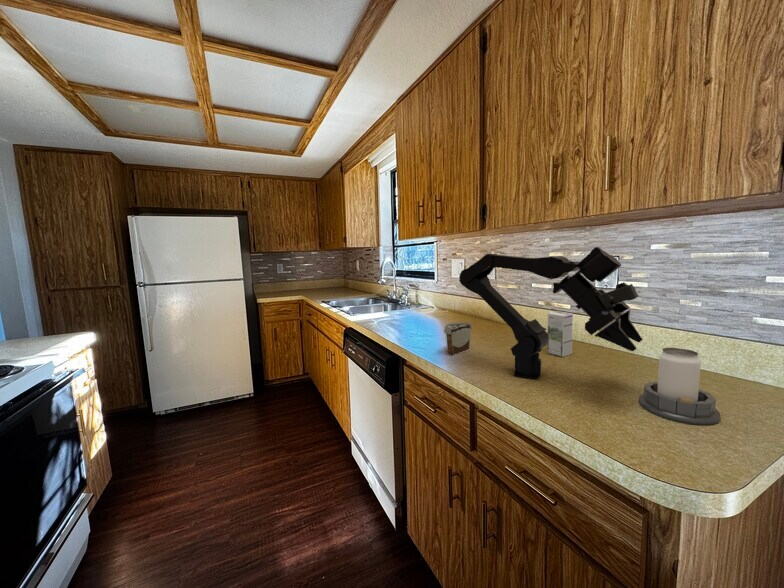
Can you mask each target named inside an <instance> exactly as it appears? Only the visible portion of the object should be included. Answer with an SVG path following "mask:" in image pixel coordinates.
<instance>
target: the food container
mask: <svg viewBox="0 0 784 588" xmlns="http://www.w3.org/2000/svg"><path fill="white" fill-rule="evenodd" d="M472 328H473V326H472V323H471V322H451V323H447V324H446V325H445V327H444V329H443V333H444V334H445V336H446V346H447V353H448V354H449V355H450V354H451V355H450V356H453V355H454V356H456V355H455V354H457V355H459V354H458V353H460V352H462V353H464V352H463V351H465V352H467V351H466V350H468V349H469V350H471V349H470V346H471V345H470V344H471V330H472ZM469 350H468V351H469ZM460 354H461V353H460Z"/></svg>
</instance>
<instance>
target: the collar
mask: <svg viewBox="0 0 784 588" xmlns="http://www.w3.org/2000/svg"><path fill="white" fill-rule="evenodd" d="M657 389H658V381H649V382H648V383H645V384H644V386H643V393H641V394H640V395H639V396H638V404H639V406H640V407H641V408H642V409H644V410H645V411H647V412H649V413H651V414H653V415H655V416H657V417H659V418H662V419H666V420H668V421H669V420H670V421H673V422H677V423H680V424H685V425H693V426H715V425H717V424H719V423H720V422H721V412H720V411H719V410H717V409H716V401H717V399H716V398H715V397H714V396H713V395H712V394H711V393H709V392H706V391H704V390H702V389H700V388H699V391H698V401H697V402H693V400H692V399H691V398H685V397H679V400H677V399H674V398H670V397H667V396H663V395H661V394H659V393H657Z"/></svg>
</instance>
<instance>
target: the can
mask: <svg viewBox="0 0 784 588" xmlns="http://www.w3.org/2000/svg"><path fill="white" fill-rule="evenodd" d="M658 361H659V363H658V373H657V374H658V375H657V382H658V389H657V393H659V394H661V395H663V396H667V397H670V398H674V399H677V400H679V397H685V398H691V399H692V400H693V402H697V401H698V391H699V389H700V376H701V360H700V358H699V353H698V352H697V351H694V350H691V349H686V348H679V347H665V348H662V352H660V355H659V359H658Z"/></svg>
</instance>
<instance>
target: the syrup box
mask: <svg viewBox="0 0 784 588" xmlns="http://www.w3.org/2000/svg"><path fill="white" fill-rule="evenodd" d="M573 314H574V313H571V312H565V311H558V310H557V311H550V312H547V334H548V336H549V341H548V344H547V345H546V347H547V349H546V350H547V352H546V353H547V354H548V355H549V354H550V355H552V356H556V355H557V356H556V357H561V358H564V356H565V357H568V356H571V355H572V354H573V325H574V323H573V322H574V320H573V319H574V318H573V317H574V315H573ZM570 354H571V355H570ZM567 355H568V356H567Z"/></svg>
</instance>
